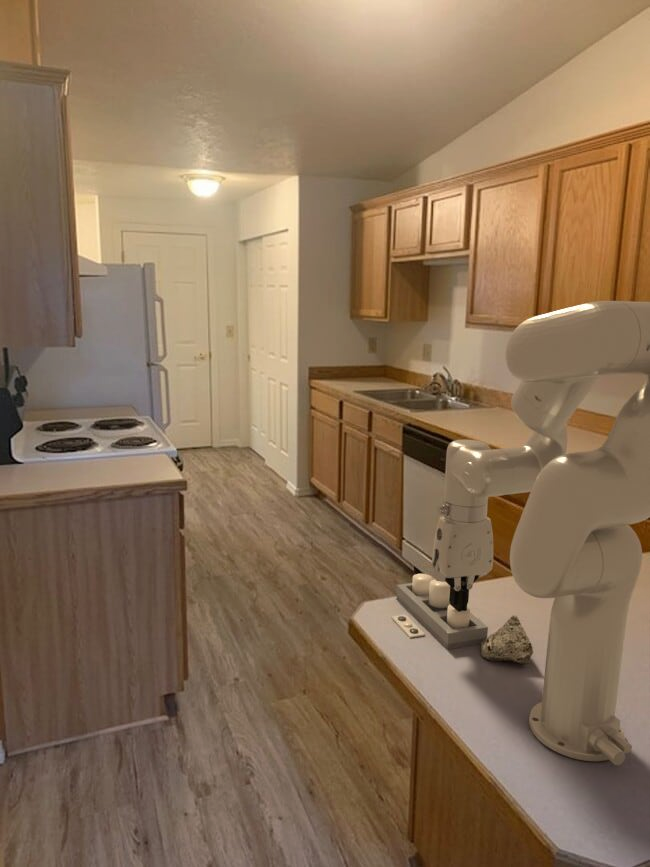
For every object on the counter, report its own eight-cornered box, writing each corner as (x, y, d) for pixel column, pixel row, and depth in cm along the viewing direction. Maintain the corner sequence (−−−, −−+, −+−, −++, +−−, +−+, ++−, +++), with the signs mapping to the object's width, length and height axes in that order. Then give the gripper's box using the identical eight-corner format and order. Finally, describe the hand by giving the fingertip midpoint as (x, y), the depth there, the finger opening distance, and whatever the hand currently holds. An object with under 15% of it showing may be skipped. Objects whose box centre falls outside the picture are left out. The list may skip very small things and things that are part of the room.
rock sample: (463, 623, 115) (504, 598, 112) (485, 640, 119) (526, 617, 116) (482, 675, 106) (527, 650, 104) (505, 691, 110) (549, 667, 108)
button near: (473, 632, 116) (474, 611, 115) (453, 635, 115) (454, 614, 114) (461, 622, 120) (462, 602, 119) (442, 625, 118) (443, 604, 118)
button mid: (453, 606, 122) (455, 586, 121) (435, 609, 121) (436, 589, 120) (443, 597, 126) (444, 578, 125) (425, 600, 125) (426, 580, 124)
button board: (486, 642, 116) (487, 627, 115) (447, 649, 113) (448, 633, 112) (430, 593, 135) (431, 580, 134) (396, 598, 132) (396, 584, 132)
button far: (435, 599, 129) (436, 580, 128) (417, 601, 128) (418, 582, 127) (426, 591, 133) (427, 572, 132) (408, 593, 131) (409, 574, 131)
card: (424, 635, 118) (425, 633, 118) (410, 638, 117) (410, 635, 117) (405, 615, 125) (405, 613, 125) (391, 618, 124) (391, 615, 124)
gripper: (437, 521, 107) (431, 623, 111) (513, 513, 112) (505, 611, 116) (416, 507, 114) (411, 604, 118) (489, 501, 119) (482, 594, 123)
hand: (458, 607), depth 117 cm, fingers closed
